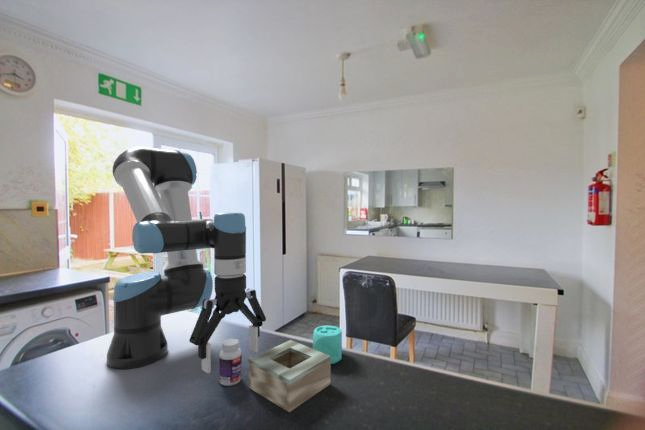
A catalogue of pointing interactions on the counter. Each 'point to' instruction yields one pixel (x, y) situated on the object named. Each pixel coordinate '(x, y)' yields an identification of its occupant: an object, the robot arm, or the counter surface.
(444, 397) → the counter surface
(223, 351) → the pill bottle
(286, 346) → the grey hollow square block
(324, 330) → the engraved teal number block
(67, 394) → the counter surface
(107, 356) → the robot arm
